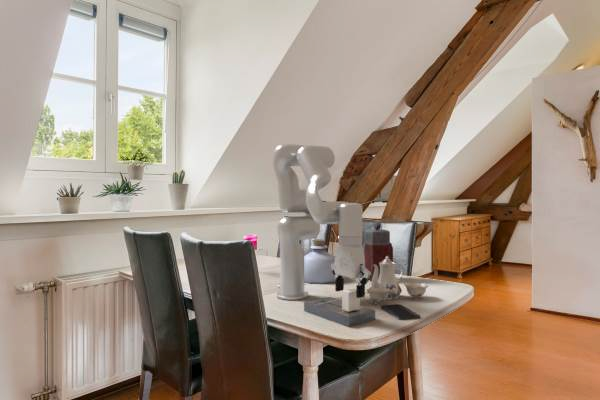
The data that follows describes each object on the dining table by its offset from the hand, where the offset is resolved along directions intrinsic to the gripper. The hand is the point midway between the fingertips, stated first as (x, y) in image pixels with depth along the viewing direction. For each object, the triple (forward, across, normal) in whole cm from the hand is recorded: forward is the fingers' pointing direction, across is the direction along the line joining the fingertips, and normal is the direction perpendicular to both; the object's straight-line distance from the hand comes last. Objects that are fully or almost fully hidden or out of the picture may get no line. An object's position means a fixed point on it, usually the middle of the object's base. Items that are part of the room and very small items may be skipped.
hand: (349, 293), depth 134 cm
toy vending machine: (+9, -35, +54) cm, 65 cm away
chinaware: (+9, -8, +31) cm, 33 cm away
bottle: (+10, -53, +32) cm, 63 cm away
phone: (+9, +6, +18) cm, 21 cm away
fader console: (+8, -5, 0) cm, 10 cm away
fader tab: (+5, +1, 0) cm, 5 cm away
